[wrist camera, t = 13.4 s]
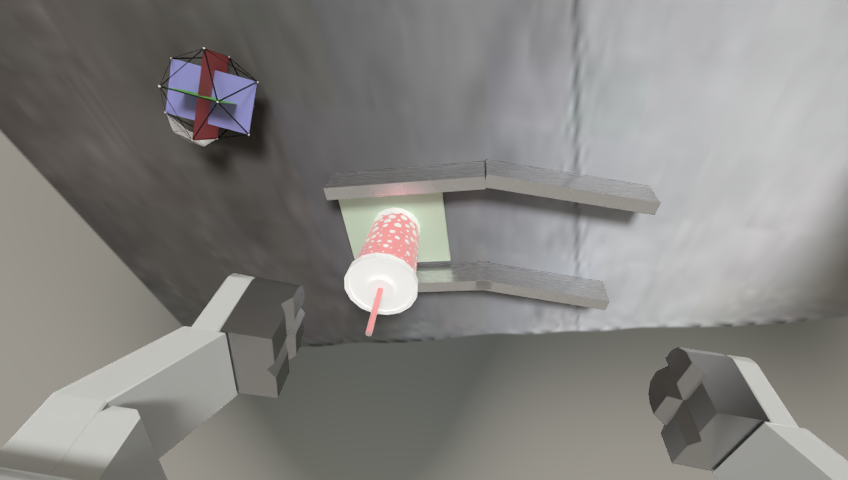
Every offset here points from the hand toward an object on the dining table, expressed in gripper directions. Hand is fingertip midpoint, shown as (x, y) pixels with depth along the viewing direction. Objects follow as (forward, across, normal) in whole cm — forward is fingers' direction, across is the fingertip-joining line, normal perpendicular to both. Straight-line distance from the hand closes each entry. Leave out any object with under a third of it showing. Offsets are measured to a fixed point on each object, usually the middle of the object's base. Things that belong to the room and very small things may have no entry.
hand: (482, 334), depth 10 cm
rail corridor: (+29, -3, +17) cm, 34 cm away
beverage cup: (+29, +4, +17) cm, 34 cm away
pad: (+29, +5, +17) cm, 34 cm away
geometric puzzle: (+29, +20, +6) cm, 36 cm away
